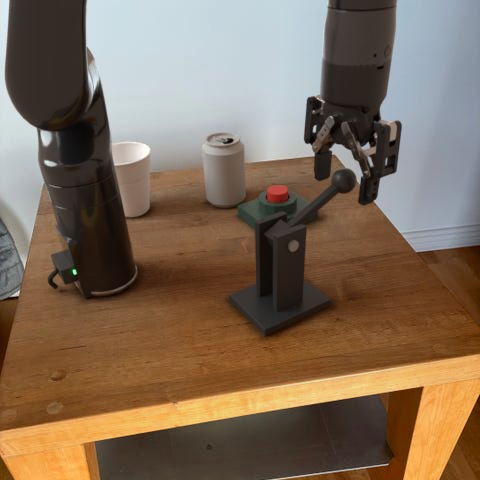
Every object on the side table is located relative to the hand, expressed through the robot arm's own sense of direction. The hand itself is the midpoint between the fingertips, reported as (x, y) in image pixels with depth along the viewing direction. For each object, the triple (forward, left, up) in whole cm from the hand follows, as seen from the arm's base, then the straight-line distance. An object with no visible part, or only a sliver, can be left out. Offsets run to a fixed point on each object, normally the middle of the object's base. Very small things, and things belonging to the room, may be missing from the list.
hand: (343, 190), depth 65 cm
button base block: (+4, +20, -14) cm, 25 cm away
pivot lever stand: (-10, 0, -14) cm, 17 cm away
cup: (-16, +38, -15) cm, 44 cm away
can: (0, +31, -15) cm, 34 cm away
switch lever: (-4, 0, -2) cm, 5 cm away
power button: (+4, +20, -11) cm, 23 cm away
